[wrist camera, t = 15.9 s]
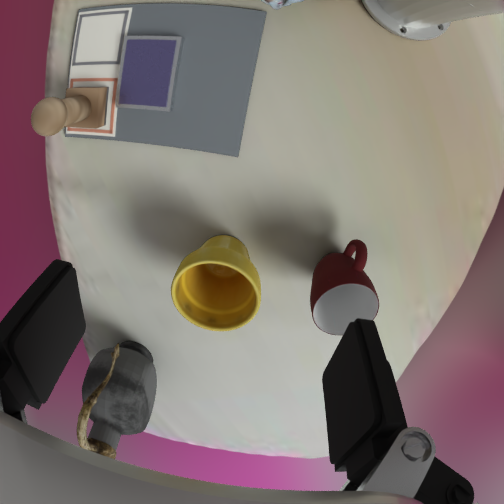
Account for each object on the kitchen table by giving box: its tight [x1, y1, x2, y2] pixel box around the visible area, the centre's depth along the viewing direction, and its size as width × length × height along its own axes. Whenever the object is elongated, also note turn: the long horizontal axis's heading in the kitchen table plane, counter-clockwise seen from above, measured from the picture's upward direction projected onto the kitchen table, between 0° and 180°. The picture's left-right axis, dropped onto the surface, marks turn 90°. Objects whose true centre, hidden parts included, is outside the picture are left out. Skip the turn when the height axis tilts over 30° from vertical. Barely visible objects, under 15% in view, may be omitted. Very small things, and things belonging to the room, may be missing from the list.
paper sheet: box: [66, 7, 132, 137], centre depth 31 cm, size 17×8×1 cm, turn 170°
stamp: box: [31, 87, 109, 136], centre depth 29 cm, size 5×5×11 cm
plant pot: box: [171, 235, 261, 331], centre depth 40 cm, size 10×10×10 cm
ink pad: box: [116, 36, 185, 112], centre depth 31 cm, size 9×7×2 cm
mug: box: [310, 240, 379, 335], centre depth 39 cm, size 10×8×10 cm
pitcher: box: [77, 341, 157, 459], centre depth 43 cm, size 11×19×30 cm, turn 171°
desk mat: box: [65, 3, 267, 157], centre depth 32 cm, size 18×24×1 cm
